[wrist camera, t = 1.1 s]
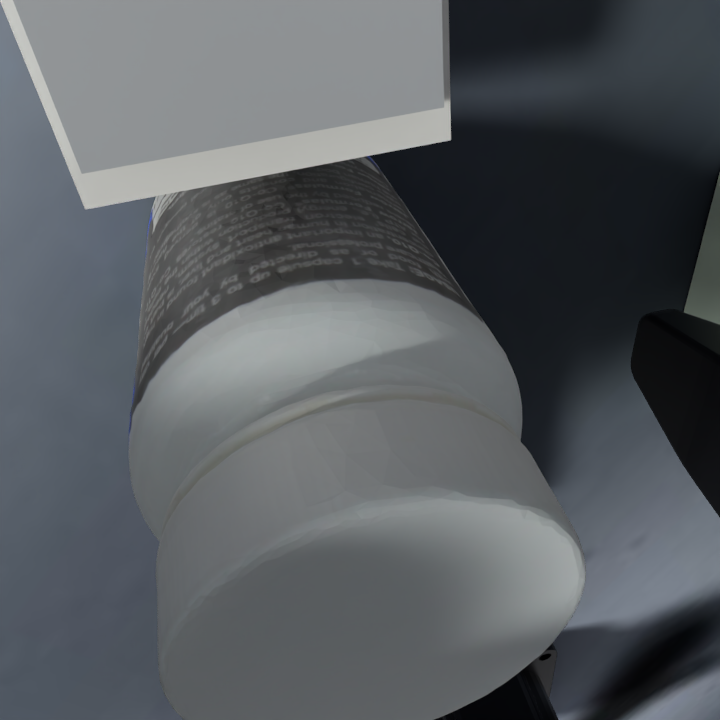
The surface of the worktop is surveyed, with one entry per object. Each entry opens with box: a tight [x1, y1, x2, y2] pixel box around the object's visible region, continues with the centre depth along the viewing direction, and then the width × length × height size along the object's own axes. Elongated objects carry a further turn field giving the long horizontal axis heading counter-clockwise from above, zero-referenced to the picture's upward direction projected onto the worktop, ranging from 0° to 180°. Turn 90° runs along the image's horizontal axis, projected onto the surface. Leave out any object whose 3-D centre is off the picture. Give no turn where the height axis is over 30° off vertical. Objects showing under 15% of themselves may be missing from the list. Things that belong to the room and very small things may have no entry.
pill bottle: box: [129, 156, 586, 720], centre depth 9 cm, size 5×5×8 cm
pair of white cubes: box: [0, 0, 451, 209], centre depth 10 cm, size 18×4×5 cm, turn 6°
